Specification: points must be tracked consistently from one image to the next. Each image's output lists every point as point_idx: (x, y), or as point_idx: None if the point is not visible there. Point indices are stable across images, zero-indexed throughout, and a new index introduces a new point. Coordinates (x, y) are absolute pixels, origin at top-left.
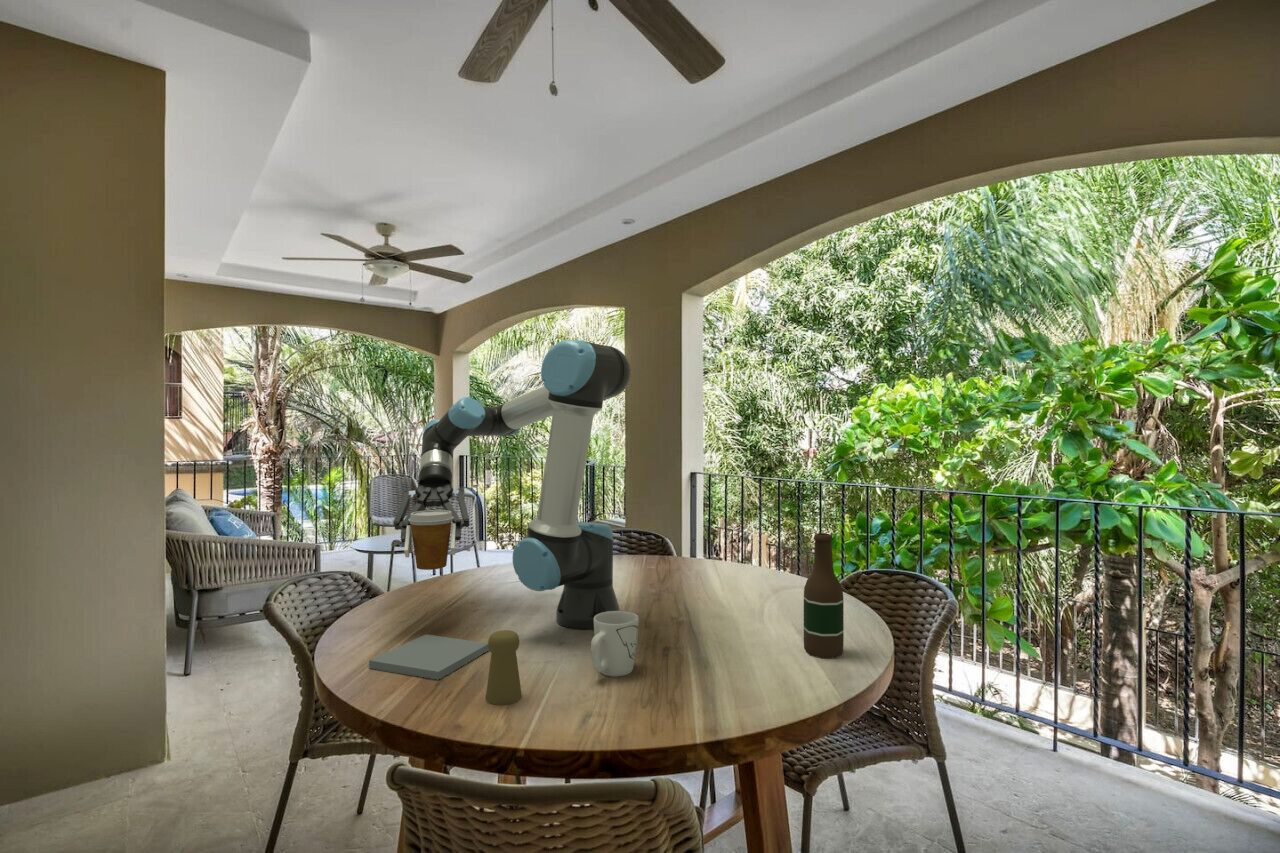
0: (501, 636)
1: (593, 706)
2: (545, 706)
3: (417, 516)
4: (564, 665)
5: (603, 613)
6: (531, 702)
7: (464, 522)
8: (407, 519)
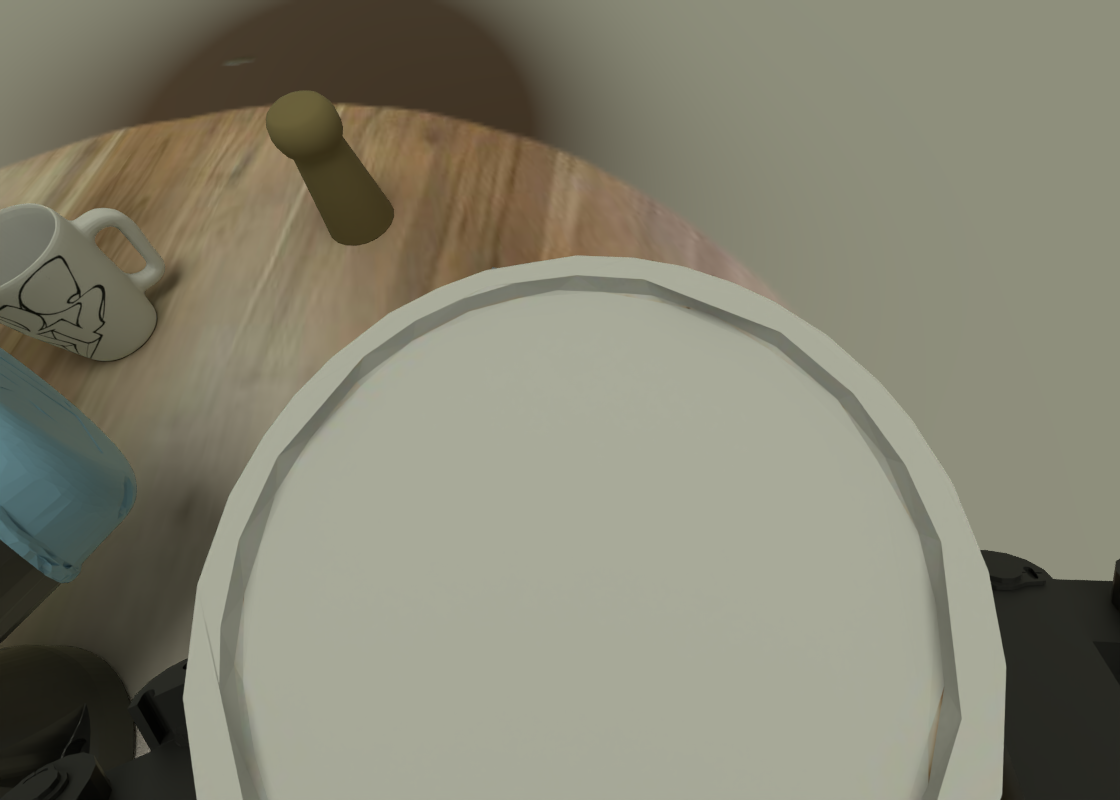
0: (300, 91)
1: (219, 198)
2: (294, 195)
3: (696, 278)
4: (219, 356)
5: (8, 283)
6: (315, 205)
7: (125, 770)
8: (1031, 643)
